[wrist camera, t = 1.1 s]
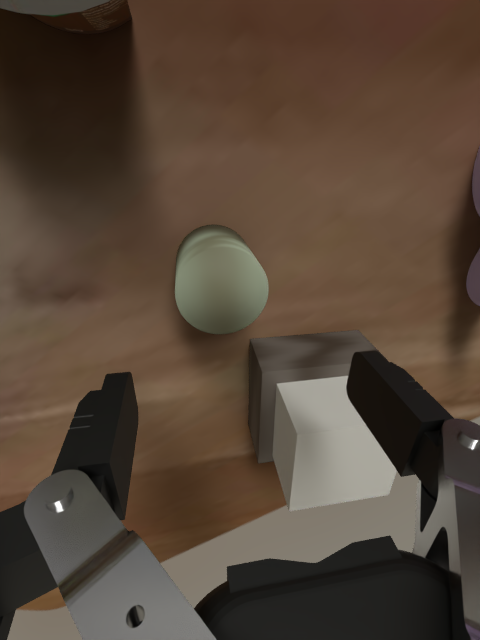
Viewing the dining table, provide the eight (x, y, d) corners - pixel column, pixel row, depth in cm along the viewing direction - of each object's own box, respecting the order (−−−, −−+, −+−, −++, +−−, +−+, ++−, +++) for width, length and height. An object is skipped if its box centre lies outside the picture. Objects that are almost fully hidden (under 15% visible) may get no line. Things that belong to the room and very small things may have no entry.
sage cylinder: (250, 223, 23) (271, 245, 18) (248, 293, 26) (266, 331, 21) (173, 225, 22) (170, 249, 17) (179, 297, 25) (179, 337, 20)
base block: (356, 328, 30) (387, 359, 25) (340, 410, 34) (363, 448, 30) (249, 337, 28) (262, 372, 24) (247, 421, 33) (258, 463, 28)
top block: (374, 372, 26) (414, 418, 21) (357, 443, 29) (388, 494, 25) (276, 383, 24) (297, 434, 20) (272, 455, 28) (289, 511, 24)
